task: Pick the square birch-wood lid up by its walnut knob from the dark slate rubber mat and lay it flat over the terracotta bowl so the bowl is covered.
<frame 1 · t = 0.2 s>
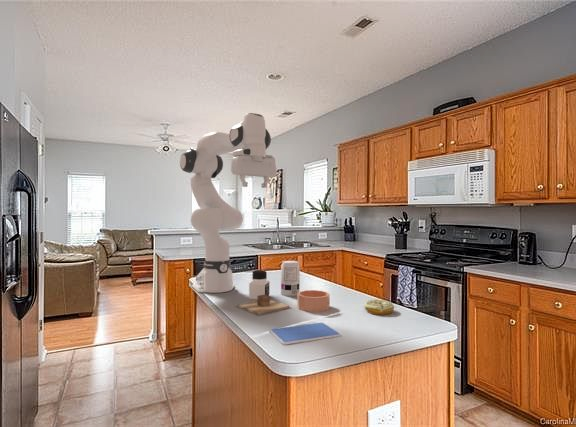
hand: (254, 187, 143), 47 cm above the countertop, tool pointing down, fingers open, 8 cm apart
decorated donut: (379, 312, 132), on the countertop
bowl: (313, 308, 135), on the countertop
tablet computer: (304, 336, 108), on the countertop
mat: (263, 308, 135), on the countertop
medicine bottle: (259, 298, 151), on the countertop
lid: (263, 307, 135), point 1 cm above the countertop, touching mat
supplement can: (290, 295, 157), on the countertop
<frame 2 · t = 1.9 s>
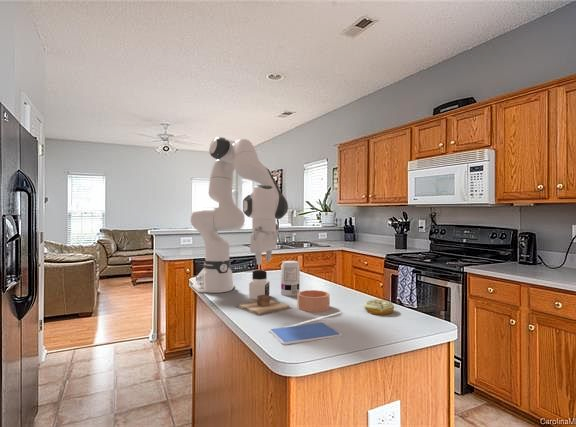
hand: (263, 262, 135), 18 cm above the countertop, tool pointing down, fingers open, 8 cm apart
nothing on the countertop moved.
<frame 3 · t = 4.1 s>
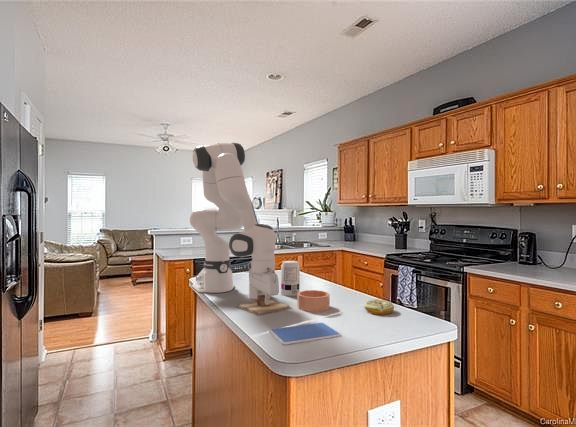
hand: (263, 302, 135), 2 cm above the countertop, tool pointing down, fingers closed on lid, 4 cm apart
lid: (263, 307, 135), point 1 cm above the countertop, touching gripper, mat
everything else where it was.
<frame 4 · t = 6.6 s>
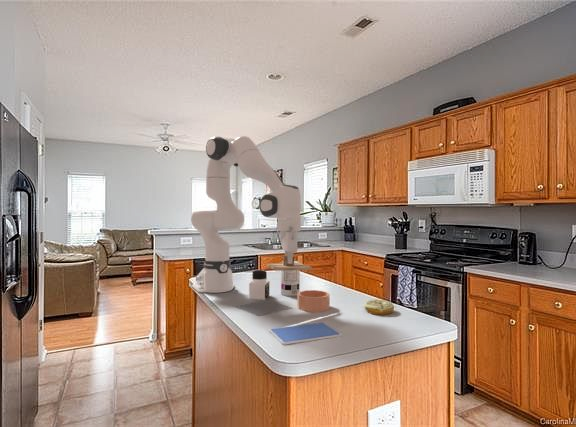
hand: (288, 262, 134), 18 cm above the countertop, tool pointing down, fingers closed on lid, 4 cm apart
lid: (288, 267, 134), point 16 cm above the countertop, touching gripper
everything else where it was.
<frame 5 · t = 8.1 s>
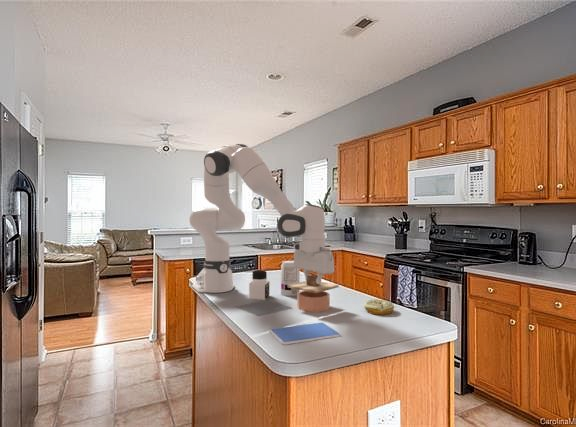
hand: (313, 282, 135), 10 cm above the countertop, tool pointing down, fingers closed on lid, 4 cm apart
lid: (313, 287, 135), point 8 cm above the countertop, touching gripper
everything else where it was.
when the fingers open (9 cm above the countertop, at t = 9.1 s): lid drops 1 cm, resting on bowl.
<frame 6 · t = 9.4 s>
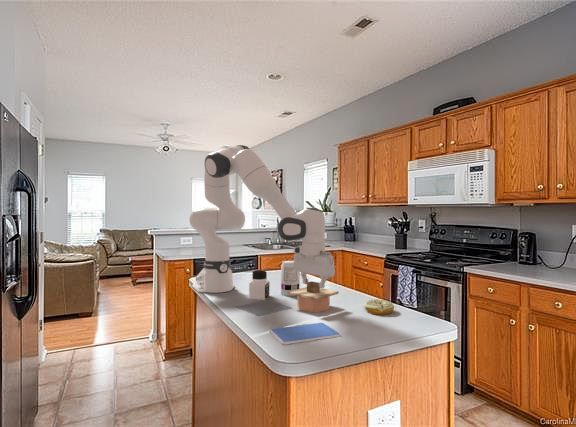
hand: (313, 285, 135), 9 cm above the countertop, tool pointing down, fingers open, 8 cm apart
lid: (313, 293, 135), point 6 cm above the countertop, touching bowl
everything else where it was.
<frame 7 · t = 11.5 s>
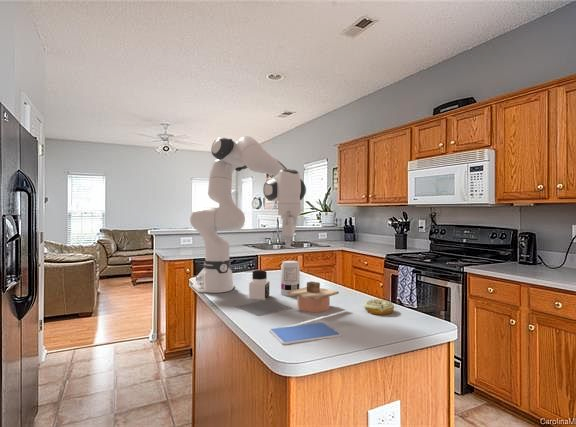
hand: (289, 245, 138), 24 cm above the countertop, tool pointing down, fingers open, 8 cm apart
nothing on the countertop moved.
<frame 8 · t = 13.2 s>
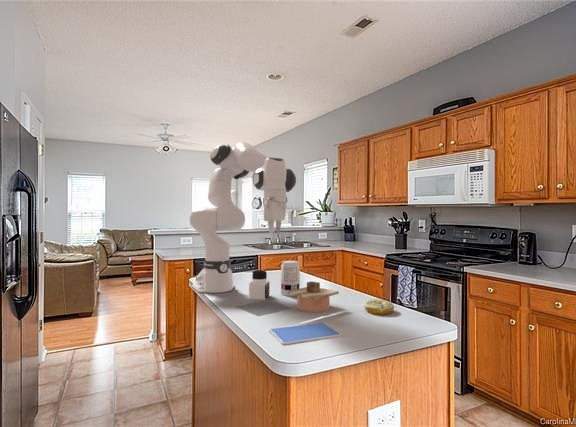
hand: (274, 232, 141), 29 cm above the countertop, tool pointing down, fingers open, 8 cm apart
nothing on the countertop moved.
at the end: lid 0.1 cm off-centre on the bowl, point 5.8 cm above the bowl's base; lid tilted 0°; the gripper is holding nothing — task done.
